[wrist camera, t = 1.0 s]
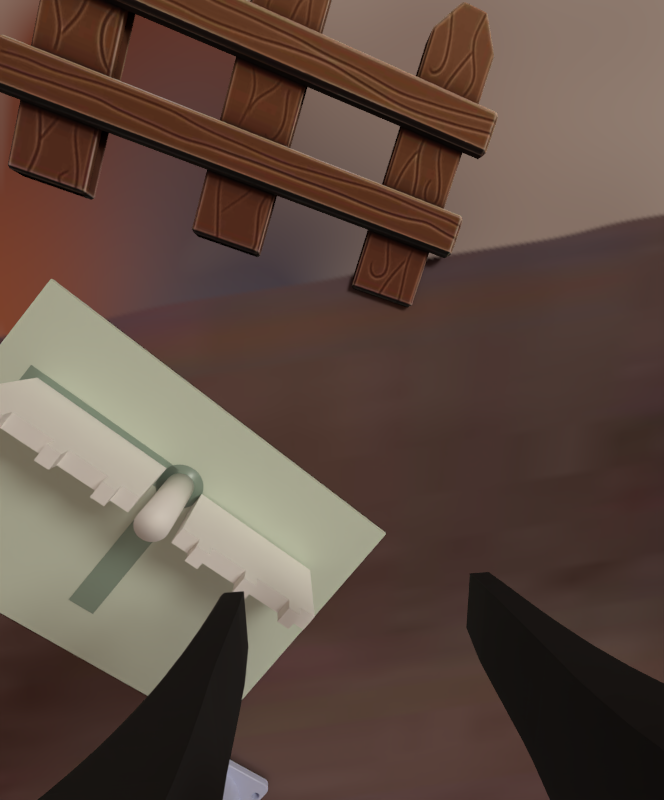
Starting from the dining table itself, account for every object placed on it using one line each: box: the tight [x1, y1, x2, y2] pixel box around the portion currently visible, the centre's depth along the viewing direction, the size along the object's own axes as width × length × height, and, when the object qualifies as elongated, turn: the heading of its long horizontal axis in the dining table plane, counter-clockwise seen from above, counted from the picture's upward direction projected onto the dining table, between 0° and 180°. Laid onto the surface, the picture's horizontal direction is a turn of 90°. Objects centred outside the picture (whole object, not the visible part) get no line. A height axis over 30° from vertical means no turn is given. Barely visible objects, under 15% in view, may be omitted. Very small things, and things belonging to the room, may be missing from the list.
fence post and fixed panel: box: [0, 378, 194, 542], centre depth 19 cm, size 2×10×5 cm, turn 50°
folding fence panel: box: [171, 494, 315, 630], centre depth 21 cm, size 8×1×5 cm, turn 50°
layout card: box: [0, 279, 386, 699], centre depth 22 cm, size 17×23×1 cm
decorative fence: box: [0, 0, 498, 307], centre depth 19 cm, size 23×2×15 cm
